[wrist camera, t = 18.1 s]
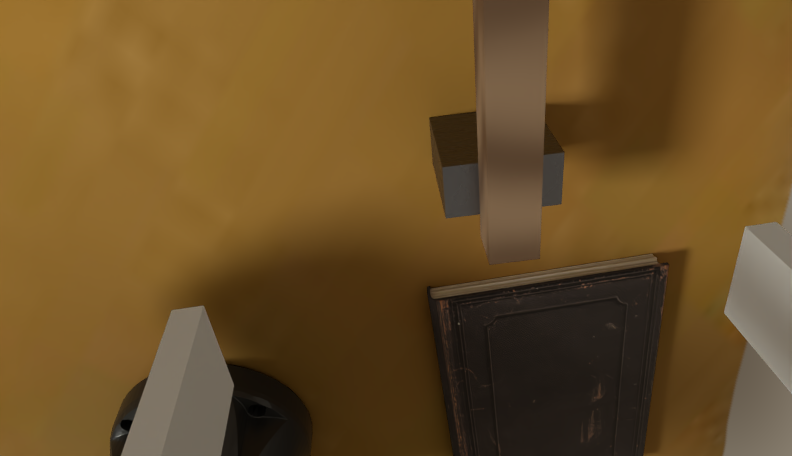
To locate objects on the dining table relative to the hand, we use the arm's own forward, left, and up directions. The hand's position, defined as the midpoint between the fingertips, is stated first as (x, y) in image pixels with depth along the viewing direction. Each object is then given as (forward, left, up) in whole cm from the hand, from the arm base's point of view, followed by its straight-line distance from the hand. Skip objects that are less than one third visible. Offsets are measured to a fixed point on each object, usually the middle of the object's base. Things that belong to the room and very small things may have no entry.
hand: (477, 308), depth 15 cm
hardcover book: (-28, -8, -22) cm, 36 cm away
